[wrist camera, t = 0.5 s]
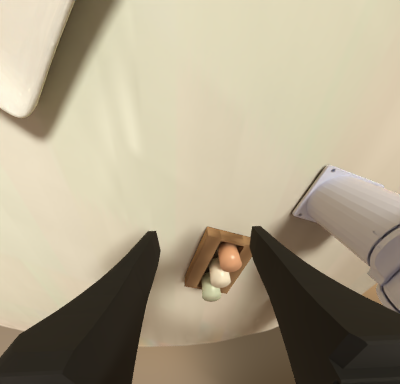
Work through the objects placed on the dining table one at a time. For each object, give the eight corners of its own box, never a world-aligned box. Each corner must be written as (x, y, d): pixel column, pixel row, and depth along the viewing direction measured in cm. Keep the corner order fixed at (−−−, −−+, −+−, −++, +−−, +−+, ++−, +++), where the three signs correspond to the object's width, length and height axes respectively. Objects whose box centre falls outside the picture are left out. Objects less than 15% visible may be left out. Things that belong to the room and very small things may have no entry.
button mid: (229, 259, 24) (233, 277, 22) (222, 271, 25) (226, 289, 23) (212, 256, 24) (214, 273, 21) (206, 268, 25) (207, 286, 22)
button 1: (220, 274, 26) (224, 292, 23) (214, 284, 27) (216, 302, 24) (204, 271, 25) (206, 289, 23) (199, 281, 26) (199, 300, 24)
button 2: (239, 243, 23) (245, 260, 20) (231, 256, 24) (236, 273, 21) (221, 239, 22) (225, 255, 19) (214, 252, 23) (217, 270, 21)
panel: (253, 238, 24) (258, 247, 22) (224, 282, 29) (226, 293, 27) (207, 226, 23) (208, 235, 21) (185, 275, 27) (184, 286, 26)
